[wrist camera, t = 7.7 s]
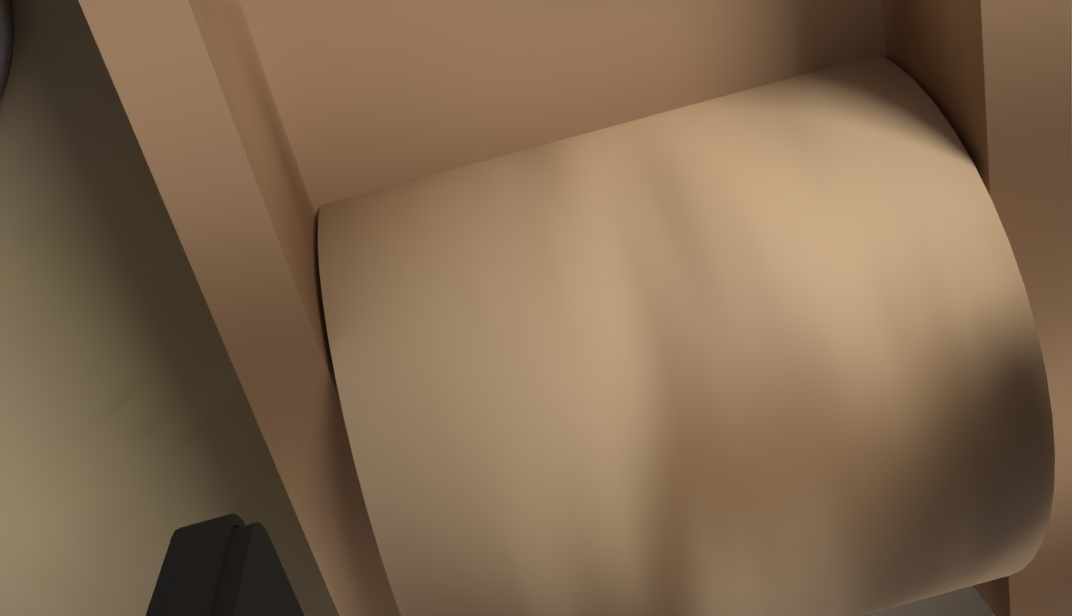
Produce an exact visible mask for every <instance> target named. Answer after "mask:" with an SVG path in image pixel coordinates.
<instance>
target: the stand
mask: <svg viewBox="0 0 1072 616" xmlns="http://www.w3.org/2000/svg"><path fill="white" fill-rule="evenodd" d="M12 52H13V19H12V10H11V1H10V0H0V97H1V95H2V92H3V89H4V86H5V83H6V80H7V77H8V74H9V70H10V64H11V58H12Z"/></svg>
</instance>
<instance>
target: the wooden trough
mask: <svg viewBox="0 0 1072 616" xmlns="http://www.w3.org/2000/svg"><path fill="white" fill-rule="evenodd" d="M78 1H79V3H80V6H81V8H82V10H83V13H84V15H85V17H86V20H87V22H88V24H89V27H90V29H91V32H92V34H93V36H94V39H95V41H96V43H97V46H98V48H99V50H100V53H101V55H102V58H103V60H104V62H105V65H106V67H107V69H108V72H109V74H110V76H111V79H112V81H113V83H114V86H115V88H116V91H117V93H118V95H119V98H120V100H121V102H122V105H123V107H124V109H125V112H126V114H127V117H128V119H129V121H130V124H131V126H132V128H133V131H134V133H135V135H136V138H137V140H138V142H139V145H140V147H141V150H142V152H143V154H144V157H145V159H146V161H147V164H148V166H149V168H150V171H151V173H152V176H153V178H154V180H155V183H156V185H157V187H158V190H159V192H160V194H161V197H162V199H163V201H164V204H165V206H166V209H167V211H168V213H169V216H170V218H171V220H172V223H173V225H174V227H175V230H176V232H177V235H178V237H179V239H180V242H181V244H182V246H183V249H184V251H185V253H186V256H187V258H188V260H189V263H190V265H191V268H192V270H193V272H194V275H195V277H196V279H197V282H198V284H199V286H200V289H201V291H202V294H203V296H204V298H205V301H206V303H207V305H208V308H209V310H210V312H211V315H212V317H213V319H214V322H215V324H216V327H217V329H218V331H219V334H220V336H221V338H222V341H223V343H224V345H225V348H226V350H227V353H228V355H229V357H230V360H231V362H232V364H233V367H234V369H235V371H236V374H237V376H238V378H239V381H240V383H241V386H242V388H243V390H244V393H245V395H246V397H247V400H248V402H249V404H250V407H251V409H252V412H253V414H254V416H255V419H256V421H257V423H258V426H259V428H260V430H261V433H262V435H263V437H264V440H265V442H266V445H267V447H268V449H269V452H270V454H271V456H272V459H273V461H274V463H275V466H276V468H277V471H278V473H279V475H280V478H281V480H282V482H283V485H284V487H285V489H286V492H287V494H288V496H289V499H290V501H291V504H292V506H293V508H294V511H295V513H296V515H297V518H298V520H299V522H300V525H301V527H302V530H303V532H304V534H305V537H306V539H307V541H308V544H309V546H310V548H311V551H312V553H313V555H314V558H315V560H316V563H317V565H318V567H319V570H320V572H321V574H322V577H323V579H324V581H325V584H326V586H327V589H328V591H329V593H330V596H331V598H332V600H333V603H334V605H335V607H336V610H337V612H338V614H339V616H864V615H868V614H871V613H875V612H879V611H882V610H886V609H889V608H893V607H897V606H900V605H904V604H908V603H911V602H915V601H919V600H922V599H926V598H929V597H933V596H937V595H940V594H944V593H948V592H951V591H955V590H959V589H962V588H966V587H970V586H974V587H975V588H976V590H977V591H978V592H979V594H980V595H981V596H982V598H983V599H984V600H985V601H986V603H987V604H988V605H989V607H990V608H991V609H992V611H993V612H994V613H995V614H996V616H1072V111H1071V21H1070V0H78Z"/></svg>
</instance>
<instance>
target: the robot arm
mask: <svg viewBox="0 0 1072 616" xmlns="http://www.w3.org/2000/svg"><path fill="white" fill-rule="evenodd" d="M146 616H304V614H303V612H302V610H301V607H300V605H299V603H298V601H297V598H296V596H295V594H294V592H293V589H292V587H291V585H290V583H289V580H288V578H287V576H286V574H285V571H284V569H283V567H282V565H281V562H280V560H279V558H278V556H277V553H276V551H275V549H274V547H273V544H272V542H271V540H270V537H269V535H268V533H267V531H266V530H265V528H264V527H263V525H262V524H261V523H258V522H257V523H253V524H249V525H245V523H244V521H243V520H242V519H241V518H240V517H239V516H238V515H236V514H229V515H226V516H222V517H218V518H215V519H211V520H207V521H204V522H200V523H196V524H193V525H189V526H185V527H182V528H179V529H177V530H175V532H174V534H173V536H172V538H171V541H170V544H169V547H168V550H167V553H166V556H165V559H164V562H163V565H162V568H161V571H160V574H159V577H158V580H157V583H156V586H155V589H154V592H153V595H152V598H151V601H150V604H149V607H148V611H147V614H146Z"/></svg>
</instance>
